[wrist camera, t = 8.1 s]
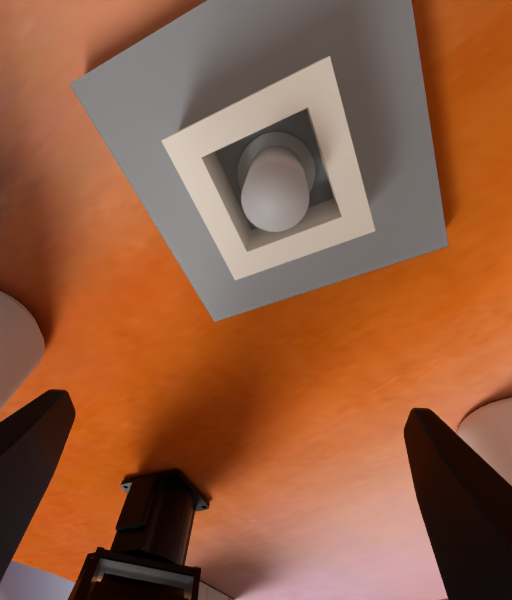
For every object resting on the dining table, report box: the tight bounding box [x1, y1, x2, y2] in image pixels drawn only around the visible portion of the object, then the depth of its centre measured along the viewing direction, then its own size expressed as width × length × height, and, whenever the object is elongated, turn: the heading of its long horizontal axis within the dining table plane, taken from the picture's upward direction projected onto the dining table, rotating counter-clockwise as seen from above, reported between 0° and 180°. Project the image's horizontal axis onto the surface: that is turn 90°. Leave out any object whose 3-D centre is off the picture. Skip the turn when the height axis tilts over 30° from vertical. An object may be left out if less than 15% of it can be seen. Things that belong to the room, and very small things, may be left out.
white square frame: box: [162, 56, 375, 280], centre depth 14 cm, size 6×6×2 cm
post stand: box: [70, 0, 448, 322], centre depth 14 cm, size 13×13×5 cm
